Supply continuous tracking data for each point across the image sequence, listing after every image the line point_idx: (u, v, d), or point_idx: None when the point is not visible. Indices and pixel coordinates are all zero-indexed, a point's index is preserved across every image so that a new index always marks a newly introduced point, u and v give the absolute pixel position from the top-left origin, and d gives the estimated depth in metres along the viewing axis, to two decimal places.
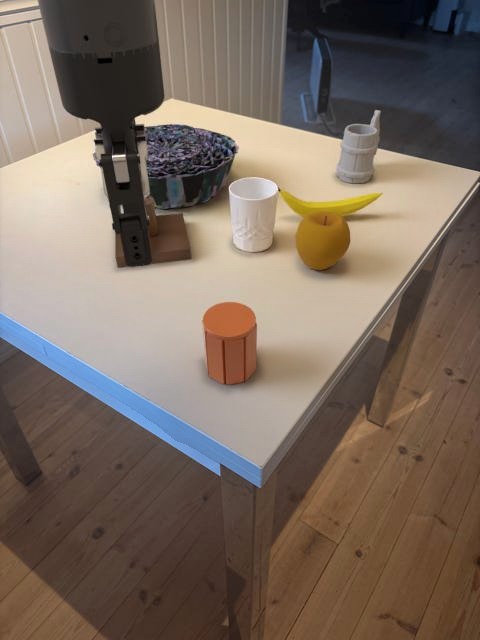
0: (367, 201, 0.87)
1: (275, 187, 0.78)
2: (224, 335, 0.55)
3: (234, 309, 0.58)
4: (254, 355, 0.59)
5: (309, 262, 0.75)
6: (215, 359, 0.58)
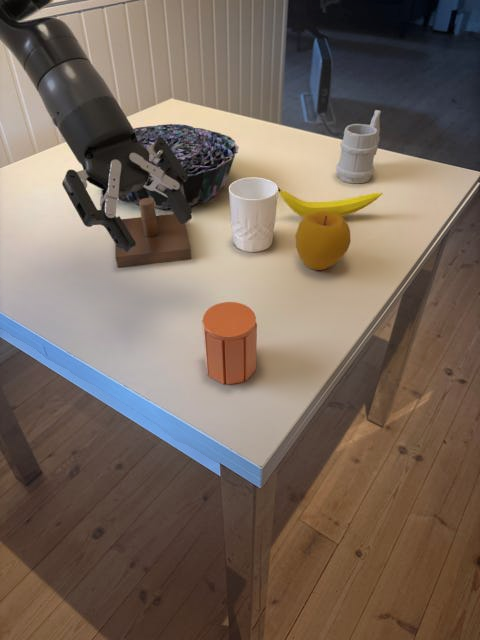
0: (367, 201, 0.87)
1: (275, 187, 0.78)
2: (224, 335, 0.55)
3: (234, 309, 0.58)
4: (254, 355, 0.59)
5: (309, 262, 0.75)
6: (215, 359, 0.58)
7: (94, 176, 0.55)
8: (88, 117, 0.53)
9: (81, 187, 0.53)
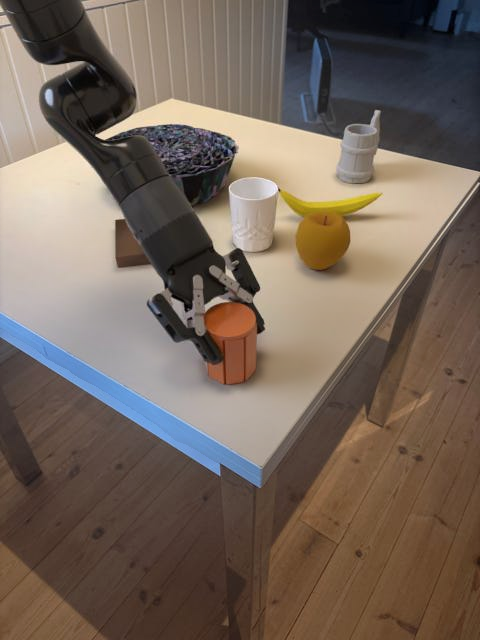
0: (367, 201, 0.87)
1: (275, 187, 0.78)
2: (224, 335, 0.55)
3: (234, 309, 0.58)
4: (254, 355, 0.59)
5: (309, 262, 0.75)
6: None
7: (176, 293, 0.55)
8: (173, 237, 0.53)
9: (169, 309, 0.53)
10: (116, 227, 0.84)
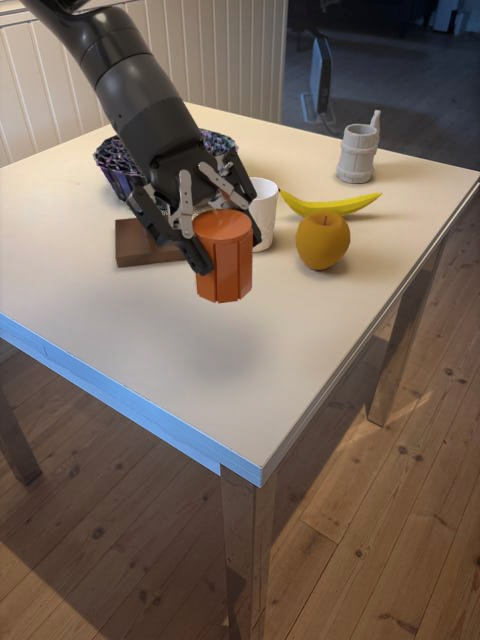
0: (367, 201, 0.87)
1: (275, 187, 0.78)
2: (215, 238, 0.48)
3: (227, 215, 0.51)
4: (250, 269, 0.52)
5: (309, 262, 0.75)
6: None
7: (160, 189, 0.48)
8: (156, 121, 0.46)
9: (152, 205, 0.46)
10: (116, 227, 0.84)
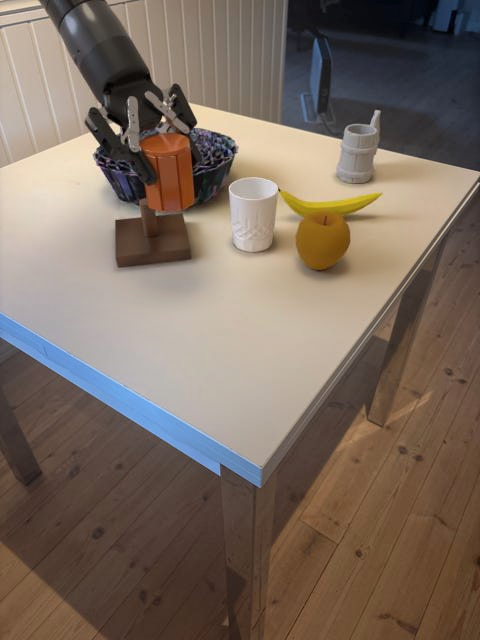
0: (367, 201, 0.87)
1: (275, 187, 0.78)
2: (157, 151, 0.58)
3: (170, 136, 0.61)
4: (190, 183, 0.63)
5: (309, 262, 0.75)
6: None
7: (112, 111, 0.58)
8: (107, 54, 0.57)
9: (104, 123, 0.57)
10: (116, 227, 0.84)
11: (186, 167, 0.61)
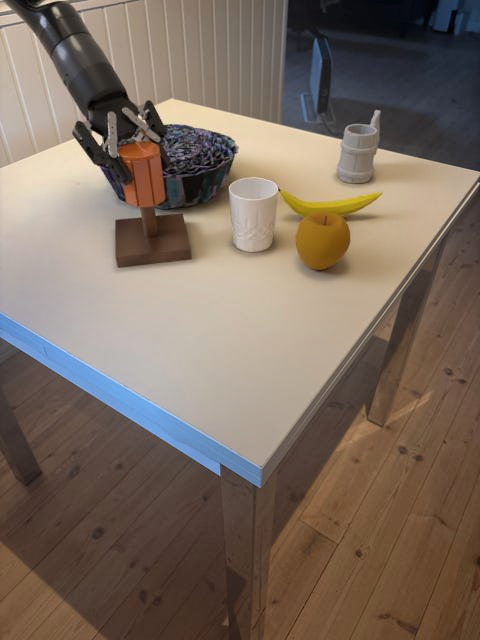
0: (367, 201, 0.87)
1: (275, 187, 0.78)
2: (132, 157, 0.71)
3: (144, 144, 0.74)
4: (161, 183, 0.75)
5: (309, 262, 0.75)
6: None
7: (95, 124, 0.71)
8: (90, 77, 0.69)
9: (88, 134, 0.69)
10: (116, 227, 0.84)
11: (157, 170, 0.73)
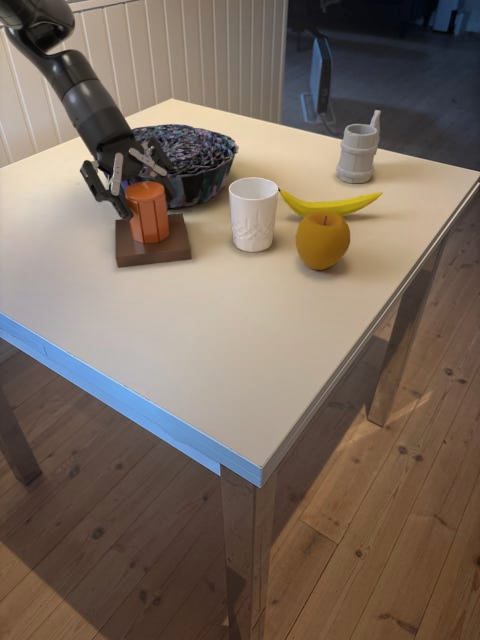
0: (367, 201, 0.87)
1: (275, 187, 0.78)
2: (138, 198, 0.75)
3: (149, 185, 0.78)
4: (165, 221, 0.80)
5: (309, 262, 0.75)
6: (135, 221, 0.78)
7: (103, 165, 0.75)
8: (99, 122, 0.73)
9: (94, 172, 0.73)
10: (116, 227, 0.84)
11: (162, 209, 0.78)
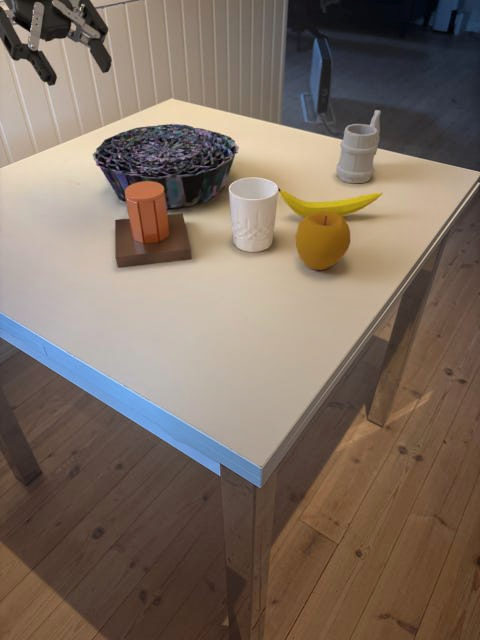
0: (367, 201, 0.87)
1: (275, 187, 0.78)
2: (138, 198, 0.75)
3: (149, 185, 0.78)
4: (165, 221, 0.80)
5: (309, 262, 0.75)
6: (135, 221, 0.78)
7: (19, 15, 0.63)
8: None
9: (6, 21, 0.62)
10: (116, 227, 0.84)
11: (162, 209, 0.78)
